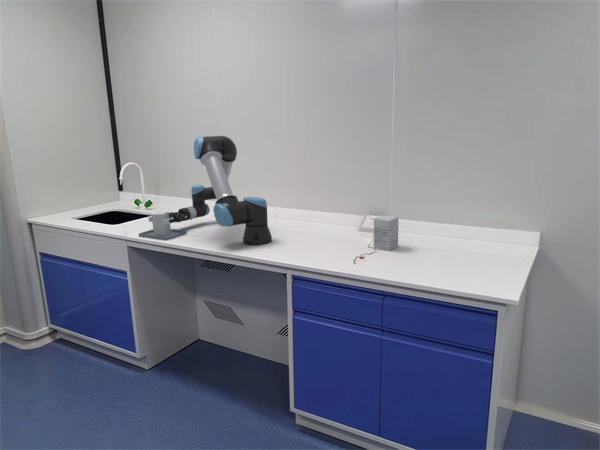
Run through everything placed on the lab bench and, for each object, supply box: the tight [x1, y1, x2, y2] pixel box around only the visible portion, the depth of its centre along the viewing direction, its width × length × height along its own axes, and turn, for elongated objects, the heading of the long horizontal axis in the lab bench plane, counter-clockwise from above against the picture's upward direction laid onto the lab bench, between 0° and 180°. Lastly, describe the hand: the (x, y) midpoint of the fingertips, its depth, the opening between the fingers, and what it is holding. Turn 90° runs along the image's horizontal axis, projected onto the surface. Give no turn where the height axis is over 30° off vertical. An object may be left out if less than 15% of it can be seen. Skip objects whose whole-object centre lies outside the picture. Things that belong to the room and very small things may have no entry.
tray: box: [138, 228, 187, 242], centre depth 241 cm, size 22×15×2 cm
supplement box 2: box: [373, 214, 399, 252], centre depth 204 cm, size 9×9×15 cm
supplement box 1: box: [150, 211, 171, 236], centre depth 239 cm, size 7×7×13 cm
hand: (156, 221), depth 236 cm, fingers open, 13 cm apart
